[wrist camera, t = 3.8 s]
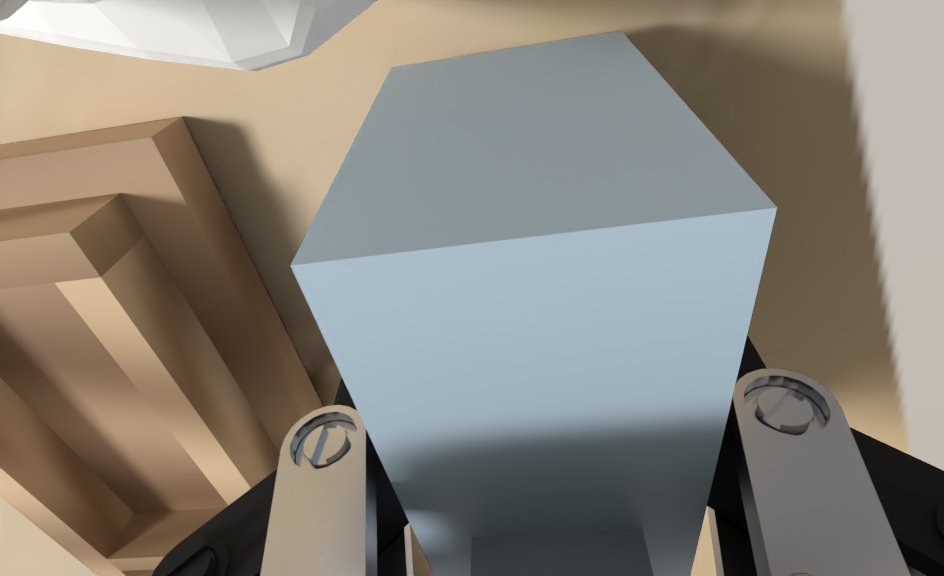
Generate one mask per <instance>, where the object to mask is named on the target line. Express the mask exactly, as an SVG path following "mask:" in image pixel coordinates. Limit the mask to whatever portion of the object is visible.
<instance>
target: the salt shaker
mask: <svg viewBox="0 0 944 576" xmlns="http://www.w3.org/2000/svg"><path fill="white" fill-rule="evenodd" d="M376 1H377V0H0V33H2V34H7V35H12V36H17V37H22V38H28V39H33V40H38V41H43V42H48V43H53V44H59V45H64V46H69V47H75V48H82V49H89V50H95V51H101V52H108V53H114V54H120V55H127V56H133V57H139V58H146V59H152V60H160V61H169V62H177V63H186V64H195V65H203V66H212V67H220V68H229V69H238V70H246V71H258V70H261V69H265V68H268V67H271V66H274V65H278V64H281V63H284V62H287V61H291V60H294V59H297V58H300V57H304V56H307V55H309V54H311V53H312V52H313V51H314V50H316V49H317V48H318V47H319V46H321V45H322V44H323V43H324V42H326V41H327V40H328V39H329V38H331V37H332V36H333V35H334V34H336V33H337V32H338V31H339V30H341V29H342V28H343V27H344V26H346V25H347V24H348V23H349V22H351V21H352V20H353V19H354V18H356V17H357V16H358V15H360V14H361V13H362V12H363V11H365V10H366V9H367V8H368V7H370V6H371V5H372V4H373V3H375V2H376Z"/></svg>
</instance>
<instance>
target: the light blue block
mask: <svg viewBox="0 0 944 576" xmlns="http://www.w3.org/2000/svg"><path fill="white" fill-rule="evenodd" d="M776 211H777V207H776V206H775V204H774V203H773V202H772V201H771V200H770V199H769V198H768V196H767V195H766V194H765V193H764V192H763V191H762V190H761V189H760V187H759V186H758V185H757V184H756V183H755V182H754V181H753V179H752V178H751V177H750V176H749V175H748V174H747V173H746V172H745V170H744V169H743V168H742V167H741V166H740V165H739V164H738V162H737V161H736V160H735V159H734V158H733V157H732V156H731V155H730V153H729V152H728V151H727V150H726V149H725V148H724V147H723V145H722V144H721V143H720V142H719V141H718V140H717V139H716V138H715V136H714V135H713V134H712V133H711V132H710V131H709V130H708V128H707V127H706V126H705V125H704V124H703V123H702V122H701V121H700V119H699V118H698V117H697V116H696V115H695V114H694V113H693V111H692V110H691V109H690V108H689V107H688V106H687V105H686V104H685V102H684V101H683V100H682V99H681V98H680V97H679V96H678V94H677V93H676V92H675V91H674V90H673V89H672V88H671V87H670V85H669V84H668V83H667V82H666V81H665V80H664V79H663V77H662V76H661V75H660V74H659V73H658V72H657V71H656V70H655V68H654V67H653V66H652V65H651V64H650V63H649V62H648V60H647V59H646V58H645V57H644V56H643V55H642V54H641V53H640V51H639V50H638V49H637V48H636V47H635V46H634V45H633V43H632V42H631V41H630V40H629V39H628V38H627V37H626V36H625V34H624V33H623V32H622V31H621V30H620V31H614V32H608V33H601V34H595V35H589V36H583V37H577V38H571V39H565V40H558V41H552V42H546V43H540V44H534V45H528V46H521V47H515V48H509V49H503V50H497V51H491V52H484V53H478V54H472V55H466V56H460V57H454V58H447V59H441V60H435V61H429V62H423V63H417V64H410V65H404V66H398V67H392V68H391V70H390V71H389V73H388V75H387V77H386V79H385V81H384V83H383V85H382V87H381V89H380V91H379V93H378V95H377V97H376V99H375V101H374V103H373V105H372V107H371V109H370V111H369V113H368V115H367V116H366V118H365V120H364V122H363V124H362V126H361V128H360V130H359V132H358V134H357V136H356V138H355V140H354V142H353V144H352V146H351V148H350V150H349V152H348V154H347V156H346V158H345V160H344V161H343V163H342V165H341V167H340V169H339V171H338V173H337V175H336V177H335V179H334V181H333V183H332V185H331V187H330V189H329V191H328V193H327V195H326V197H325V199H324V201H323V203H322V204H321V206H320V208H319V210H318V212H317V214H316V216H315V218H314V220H313V222H312V224H311V226H310V228H309V230H308V232H307V234H306V236H305V238H304V240H303V242H302V244H301V246H300V248H299V249H298V251H297V253H296V255H295V257H294V259H293V261H292V263H291V265H290V266H291V268H292V270H293V273H294V275H295V277H296V279H297V281H298V283H299V286H300V288H301V290H302V292H303V294H304V296H305V299H306V301H307V303H308V305H309V307H310V309H311V311H312V314H313V316H314V318H315V320H316V322H317V324H318V327H319V329H320V331H321V333H322V335H323V337H324V340H325V342H326V344H327V346H328V348H329V350H330V352H331V355H332V357H333V359H334V361H335V363H336V365H337V368H338V370H339V372H340V374H341V376H342V378H343V380H344V383H345V385H346V387H347V389H348V391H349V393H350V396H351V398H352V400H353V402H354V404H355V406H356V409H357V411H358V413H359V415H360V417H361V419H362V421H363V424H364V426H365V428H366V430H367V432H368V434H369V437H370V439H371V441H372V443H373V445H374V447H375V450H376V452H377V454H378V456H379V458H380V460H381V462H382V465H383V467H384V469H385V471H386V473H387V475H388V478H389V480H390V482H391V484H392V486H393V488H394V490H395V493H396V495H397V497H398V499H399V501H400V503H401V506H402V508H403V510H404V512H405V514H406V516H407V519H408V521H409V523H410V525H411V527H412V529H413V531H414V534H415V536H416V538H417V540H418V542H419V544H420V547H421V549H422V551H423V553H424V555H425V557H426V559H427V562H428V564H429V566H430V568H431V570H432V572H433V575H434V576H690V574H691V570H692V566H693V562H694V557H695V553H696V549H697V545H698V541H699V536H700V532H701V528H702V524H703V519H704V515H705V511H706V507H707V503H708V498H709V494H710V490H711V486H712V481H713V477H714V473H715V469H716V465H717V460H718V456H719V452H720V448H721V443H722V439H723V435H724V431H725V426H726V422H727V418H728V414H729V410H730V405H731V401H732V397H733V393H734V388H735V384H736V380H737V376H738V372H739V367H740V363H741V359H742V355H743V350H744V346H745V342H746V338H747V334H748V329H749V325H750V321H751V317H752V312H753V308H754V304H755V300H756V296H757V291H758V287H759V283H760V279H761V274H762V270H763V266H764V262H765V257H766V253H767V249H768V245H769V241H770V236H771V232H772V228H773V224H774V219H775V215H776Z"/></svg>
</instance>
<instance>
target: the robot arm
mask: <svg viewBox="0 0 944 576" xmlns="http://www.w3.org/2000/svg"><path fill="white" fill-rule="evenodd" d="M707 506H708V516H709V523H710V530H711V537H712V544H713V551H714V558H715V565H716V572H717V576H944V471H943V470H941V469H939V468H936V467H934V466H932V465H930V464H928V463H926V462H923V461H921V460H919V459H917V458H915V457H913V456H911V455H908V454H906V453H904V452H902V451H900V450H898V449H895V448H893V447H891V446H889V445H887V444H885V443H883V442H880V441H878V440H876V439H874V438H872V437H870V436H867V435H865V434H863V433H861V432H859V431H857V430H854V429H852V428H850V427H849V425H848V422H847V420H846V418H845V415H844V413H843V410H842V408H841V406H840V405H839V403H838V401H837V400H836V398H835V397H834V395H833V394H832V393H831V392H830V391H828V390H827V389H826V388H825V387H824V386H823V385H822V384H820V383H818V382H817V381H815V380H813V379H811V378H810V377H808V376H805V375H802V374H800V373H797V372H794V371H791V370H784V369H777V368H770V369H767V368H766V366H765V365H764V363H763V361H762V359H761V358H760V356H759V354H758V353H757V351H756V349H755V347H754V346H753V344H752V342H751V340H750V339H749V337H748V335H747V338H746V342H745V346H744V350H743V355H742V359H741V363H740V367H739V372H738V376H737V380H736V384H735V388H734V393H733V397H732V401H731V405H730V410H729V414H728V418H727V422H726V426H725V431H724V435H723V439H722V443H721V448H720V452H719V456H718V460H717V465H716V469H715V473H714V477H713V481H712V486H711V490H710V494H709V498H708V503H707ZM152 576H413V561H412V547H411V532H410V524H409V521H408V519H407V516H406V514H405V512H404V510H403V508H402V506H401V503H400V501H399V499H398V497H397V495H396V493H395V490H394V488H393V486H392V484H391V482H390V480H389V478H388V475H387V473H386V471H385V469H384V467H383V465H382V462H381V460H380V458H379V456H378V454H377V452H376V450H375V447H374V445H373V443H372V441H371V439H370V437H369V434H368V432H367V430H366V428H365V426H364V424H363V421H362V419H361V417H360V415H359V413H358V411H357V409H356V406H355V404H354V402H353V400H352V398H351V396H350V393H349V391H348V389H347V387H346V385H345V383H344V380H343V378H342V379H341V382H340V385H339V389H338V392H337V395H336V399H335V402H334V405H332V406H325V407H322V408H319V409H317V410H314V411H312V412H310V413H309V414H307V415H306V416H304V417H302V418H301V419H300V420H299V421H298V422H297V423H296V424H295V425H294V426H292V428H291V429H290V431H289V432H288V433H287V435H286V436H285V438H284V441H283V444H282V447H281V450H280V457H279V463H278V468H277V469H276V470H275V471H274V472H272V473H271V474H270V475H268V476H267V477H266V478H264V479H263V480H262V481H260V482H259V483H258V484H256V485H255V486H254V487H252V488H251V489H250V490H248V491H247V492H246V493H244V494H243V495H242V496H240V497H239V498H238V499H237V500H235V501H234V502H233V503H231V504H230V505H229V506H227V507H226V508H225V509H223V510H222V511H221V512H219V513H218V514H217V515H215V516H214V517H213V518H211V519H210V520H209V521H207V522H206V523H205V524H203V525H202V526H201V527H200V528H198V529H197V530H196V531H194V532H193V533H192V534H190V535H189V536H188V537H186V538H185V539H184V540H182V541H181V542H180V543H178V544H177V545H176V546H175V547H174V548H173V549H172V550H171V551H170V552H169V553H167V554H166V555H165V557H164V558H163V559H162V560H161V562H160V563H159V564H158V566H157V567H156V568H155V570H154V572H153V574H152Z"/></svg>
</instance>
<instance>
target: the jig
mask: <svg viewBox="0 0 944 576" xmlns="http://www.w3.org/2000/svg"><path fill="white" fill-rule="evenodd" d="M322 407H323V405H322V403H321V401H320V399H319V397H318V395H317V393H316V391H315V389H314V387H313V385H312V383H311V381H310V379H309V377H308V374H307V372H306V370H305V368H304V366H303V364H302V362H301V360H300V358H299V356H298V354H297V352H296V350H295V348H294V346H293V344H292V342H291V340H290V338H289V336H288V333H287V331H286V329H285V327H284V325H283V323H282V321H281V319H280V317H279V315H278V313H277V311H276V309H275V307H274V305H273V303H272V301H271V299H270V297H269V295H268V292H267V290H266V288H265V286H264V284H263V282H262V280H261V278H260V276H259V274H258V272H257V270H256V268H255V266H254V264H253V262H252V260H251V258H250V256H249V254H248V251H247V249H246V247H245V245H244V243H243V241H242V239H241V237H240V235H239V233H238V231H237V229H236V227H235V225H234V223H233V221H232V219H231V217H230V215H229V213H228V210H227V208H226V206H225V204H224V202H223V200H222V198H221V196H220V194H219V192H218V190H217V188H216V186H215V184H214V182H213V180H212V178H211V176H210V174H209V172H208V169H207V167H206V165H205V163H204V161H203V159H202V157H201V155H200V153H199V151H198V149H197V147H196V145H195V143H194V141H193V139H192V137H191V135H190V133H189V131H188V128H187V126H186V124H185V122H184V120H183V118H182V117H176V118H169V119H163V120H157V121H150V122H144V123H137V124H131V125H125V126H118V127H112V128H105V129H99V130H93V131H86V132H80V133H73V134H67V135H60V136H54V137H48V138H41V139H35V140H28V141H22V142H16V143H9V144H3V145H0V497H2V498H3V499H4V500H5V501H7V502H8V503H9V504H10V505H11V506H13V507H14V508H15V509H16V510H18V511H19V512H20V513H21V514H23V515H24V516H25V517H26V518H27V519H29V520H30V521H31V522H32V523H34V524H35V525H36V526H37V527H38V528H40V529H41V530H42V531H43V532H45V533H46V534H47V535H48V536H50V537H51V538H52V539H53V540H54V541H56V542H57V543H58V544H59V545H61V546H62V547H63V548H64V549H66V550H67V551H68V552H69V553H70V554H72V555H73V556H74V557H75V558H77V559H78V560H79V561H80V562H82V563H83V564H84V565H85V566H86V567H88V568H89V569H90V570H91V571H93V572H94V573H95V574H96V575H98V576H152V574H153V572H154V570H155V568H156V567H157V566H158V564H159V563H160V562H161V560H162V559H163V558H164V557H165V555H166V554H167V553H169V552H170V551H171V550H172V549H173V548H174V547H175V546H176V545H177V544H178V543H180V542H181V541H182V540H184V539H185V538H186V537H188V536H189V535H190V534H192V533H193V532H194V531H196V530H197V529H198V528H200V527H201V526H202V525H203V524H205V523H206V522H207V521H209V520H210V519H211V518H213V517H214V516H215V515H217V514H218V513H219V512H221V511H222V510H223V509H225V508H226V507H227V506H229V505H230V504H231V503H233V502H234V501H235V500H237V499H238V498H239V497H240V496H242V495H243V494H244V493H246V492H247V491H248V490H250V489H251V488H252V487H254V486H255V485H256V484H258V483H259V482H260V481H262V480H263V479H264V478H266V477H267V476H268V475H270V474H271V473H272V472H274V471H275V470H276V469H277V468H278V463H279V457H280V450H281V447H282V444H283V441H284V438H285V436H286V435H287V433H288V432H289V431H290V429H291V428H292V426H294V425H295V424H296V423H297V422H298V421H299V420H300V419H301V418H302V417H304V416H306V415H307V414H309V413H310V412H312V411H314V410H317V409H319V408H322Z"/></svg>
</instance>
